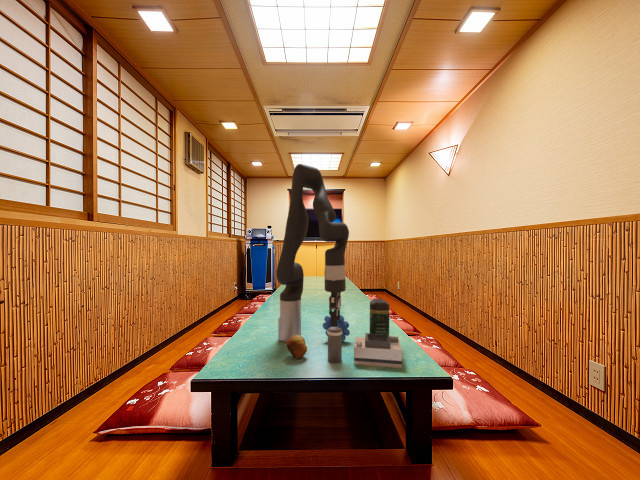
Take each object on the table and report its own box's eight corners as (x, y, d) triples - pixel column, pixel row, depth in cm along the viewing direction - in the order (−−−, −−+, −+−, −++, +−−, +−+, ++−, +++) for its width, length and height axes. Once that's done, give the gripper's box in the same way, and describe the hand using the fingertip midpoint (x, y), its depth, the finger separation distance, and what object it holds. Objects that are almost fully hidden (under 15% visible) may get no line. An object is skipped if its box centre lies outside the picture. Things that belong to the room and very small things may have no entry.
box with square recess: (353, 364, 100) (353, 341, 100) (355, 352, 110) (355, 331, 110) (401, 368, 97) (401, 344, 97) (399, 355, 107) (399, 334, 108)
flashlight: (326, 362, 101) (326, 330, 101) (328, 356, 106) (328, 326, 107) (341, 363, 100) (341, 331, 100) (342, 357, 105) (342, 326, 106)
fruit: (300, 363, 101) (300, 340, 101) (281, 358, 105) (281, 336, 105) (311, 356, 107) (311, 334, 107) (293, 351, 111) (293, 331, 111)
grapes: (321, 344, 120) (321, 315, 120) (323, 338, 126) (323, 311, 126) (349, 345, 118) (349, 315, 119) (349, 339, 125) (349, 312, 125)
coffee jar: (391, 349, 114) (390, 302, 114) (370, 348, 115) (370, 301, 115) (387, 341, 124) (387, 297, 124) (368, 340, 124) (368, 297, 124)
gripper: (327, 275, 111) (328, 317, 111) (321, 280, 97) (321, 328, 97) (347, 275, 110) (347, 318, 110) (343, 280, 96) (344, 329, 96)
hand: (335, 323), depth 104 cm, fingers open, 8 cm apart
